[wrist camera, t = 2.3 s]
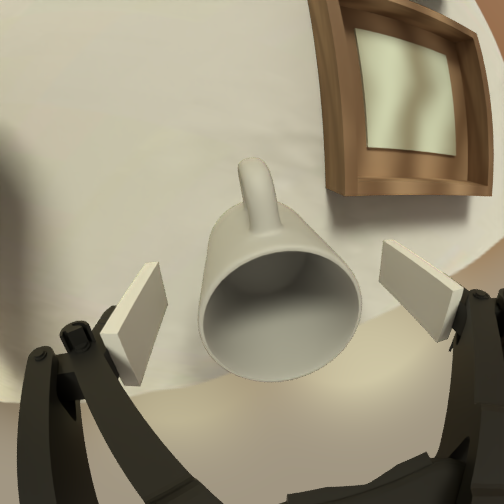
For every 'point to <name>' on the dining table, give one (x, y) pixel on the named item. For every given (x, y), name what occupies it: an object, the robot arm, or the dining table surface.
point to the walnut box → (401, 100)
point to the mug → (273, 289)
